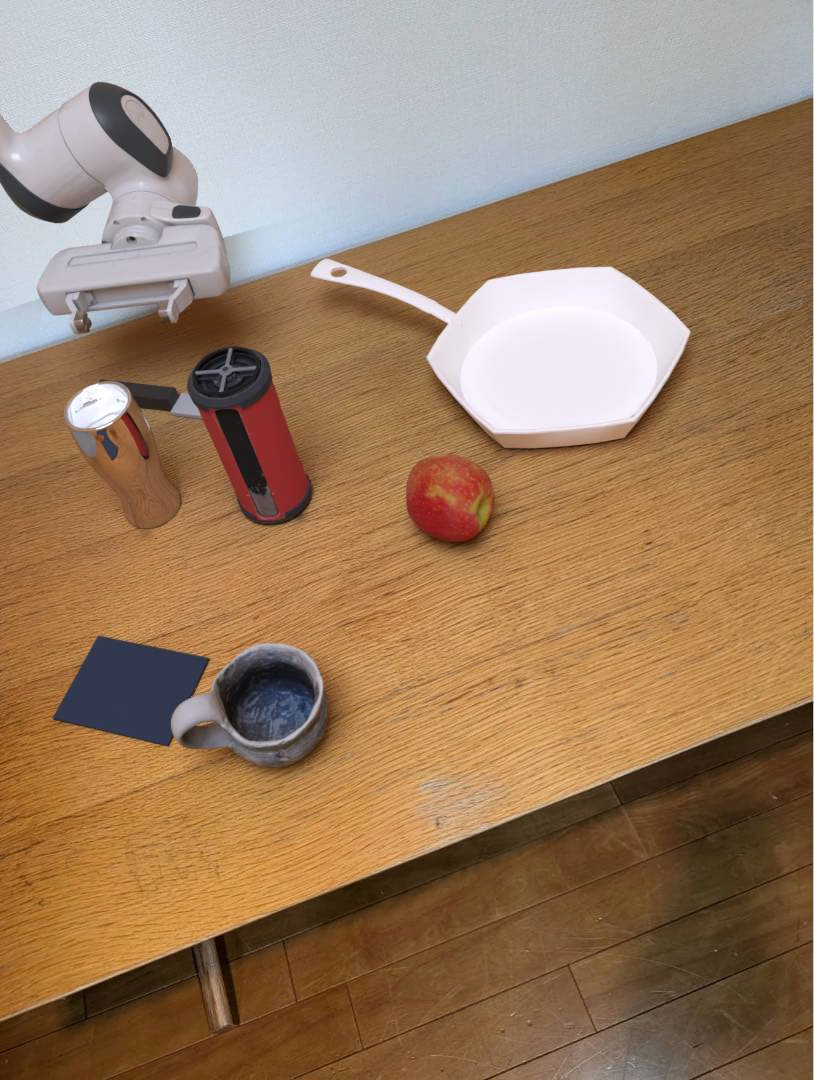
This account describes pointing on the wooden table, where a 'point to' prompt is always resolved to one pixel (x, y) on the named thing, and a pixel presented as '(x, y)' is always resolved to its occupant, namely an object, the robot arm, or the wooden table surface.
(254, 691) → the mug
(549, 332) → the pan
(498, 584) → the wooden table surface
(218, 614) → the wooden table surface
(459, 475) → the apple
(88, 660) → the cloth
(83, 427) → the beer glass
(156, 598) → the wooden table surface
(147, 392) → the spatula
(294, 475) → the speaker
